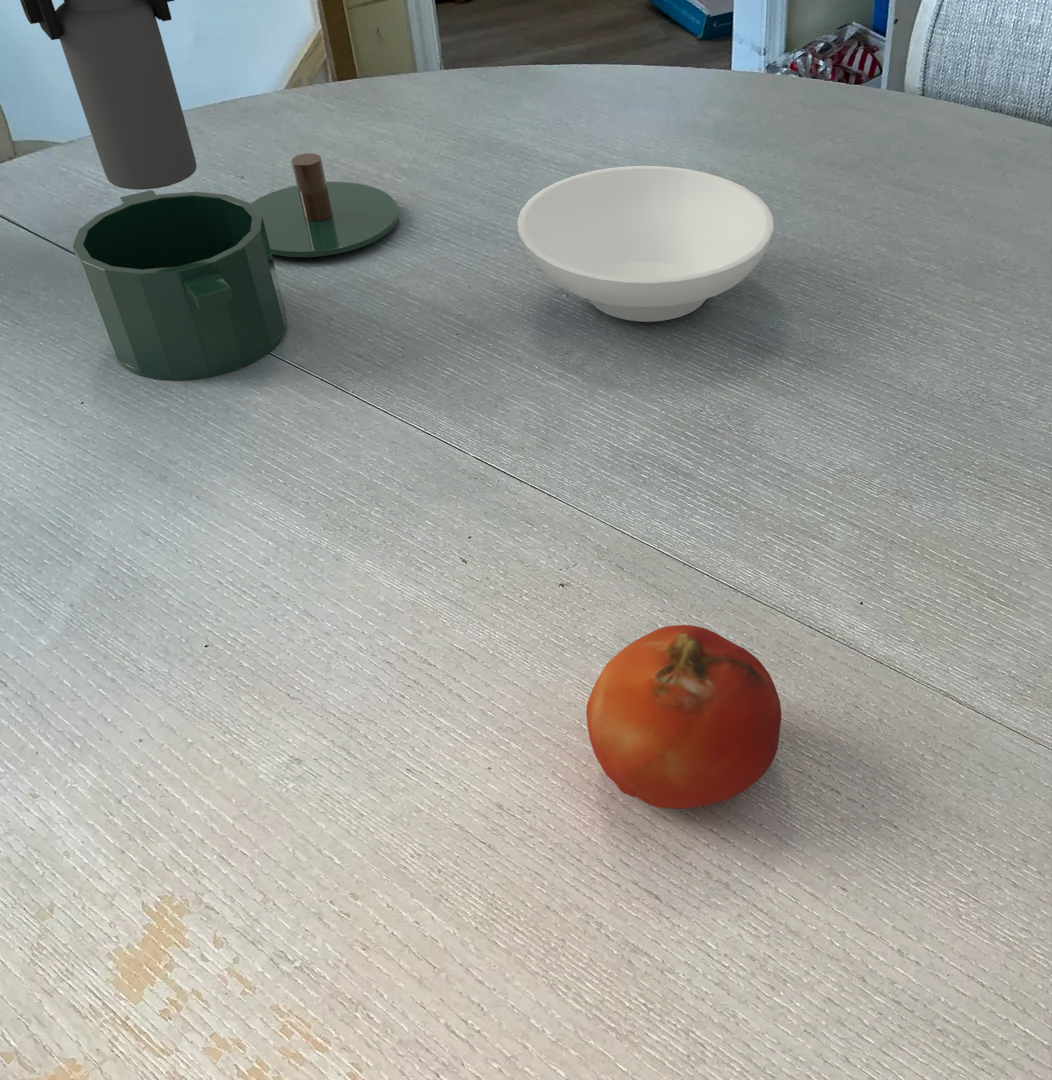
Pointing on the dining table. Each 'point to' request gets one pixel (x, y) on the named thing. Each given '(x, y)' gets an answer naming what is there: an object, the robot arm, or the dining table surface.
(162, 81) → the bottle
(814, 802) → the dining table surface
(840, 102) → the dining table surface
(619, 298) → the bowl
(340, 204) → the lid
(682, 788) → the tomato
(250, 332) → the pot
